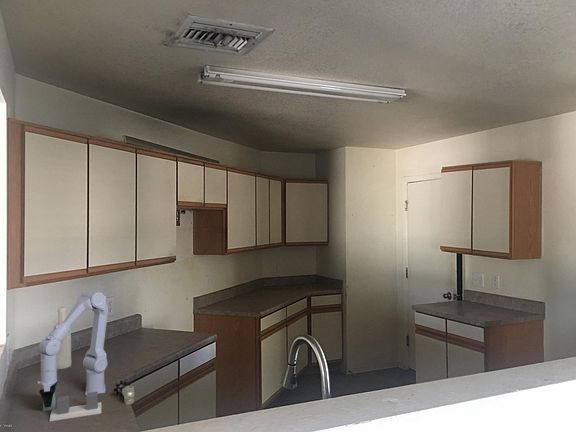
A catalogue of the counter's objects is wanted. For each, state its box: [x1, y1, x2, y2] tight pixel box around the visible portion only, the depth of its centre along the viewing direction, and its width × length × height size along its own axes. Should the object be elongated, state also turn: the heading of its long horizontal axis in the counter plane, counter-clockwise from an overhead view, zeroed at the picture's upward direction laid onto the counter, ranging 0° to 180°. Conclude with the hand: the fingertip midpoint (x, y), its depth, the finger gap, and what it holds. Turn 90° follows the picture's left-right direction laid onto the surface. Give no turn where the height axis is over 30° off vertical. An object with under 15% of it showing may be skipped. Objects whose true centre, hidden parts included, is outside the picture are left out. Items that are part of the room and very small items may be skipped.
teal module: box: [42, 391, 56, 412], centre depth 184 cm, size 4×4×6 cm
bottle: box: [55, 306, 72, 370], centre depth 232 cm, size 8×8×30 cm
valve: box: [112, 379, 135, 405], centre depth 191 cm, size 7×7×12 cm
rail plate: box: [49, 392, 102, 422], centre depth 179 cm, size 9×18×6 cm, turn 112°
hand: (49, 402), depth 184 cm, fingers open, 7 cm apart
